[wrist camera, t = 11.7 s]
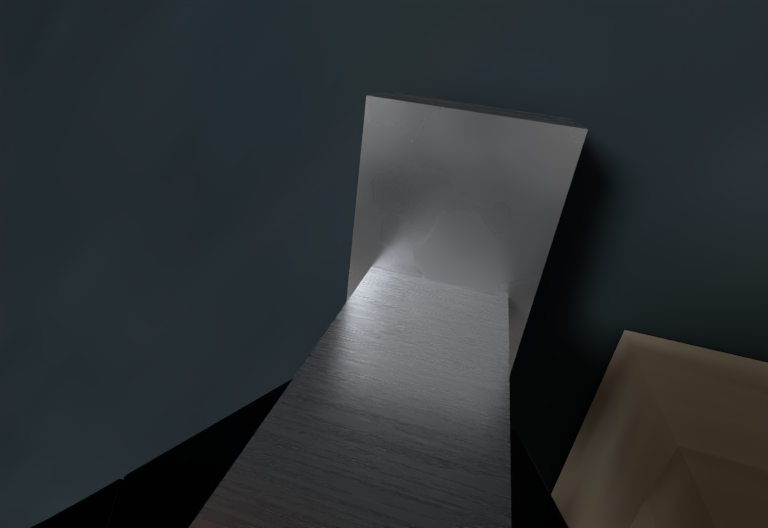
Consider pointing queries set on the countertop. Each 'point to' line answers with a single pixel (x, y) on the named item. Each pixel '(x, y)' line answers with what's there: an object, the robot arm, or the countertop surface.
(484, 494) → the scraper
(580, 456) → the slot block
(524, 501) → the robot arm
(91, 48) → the countertop surface
